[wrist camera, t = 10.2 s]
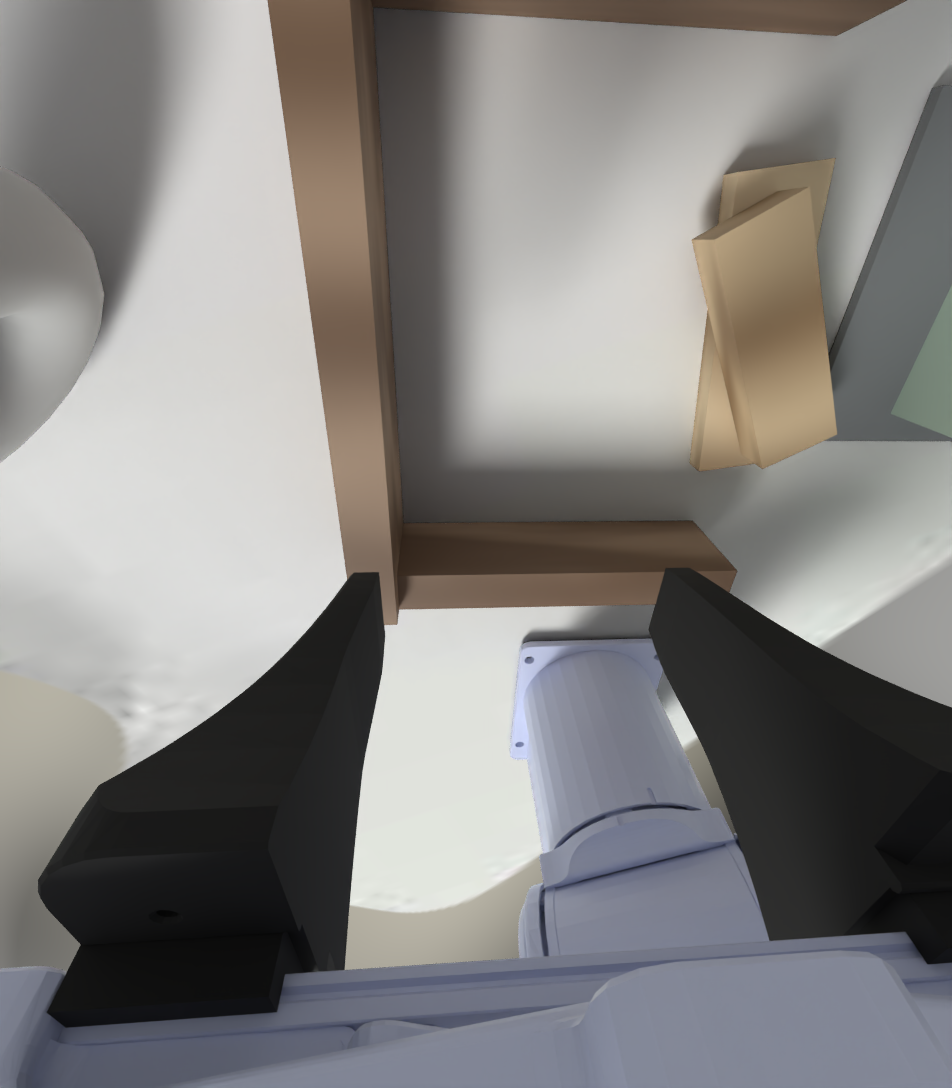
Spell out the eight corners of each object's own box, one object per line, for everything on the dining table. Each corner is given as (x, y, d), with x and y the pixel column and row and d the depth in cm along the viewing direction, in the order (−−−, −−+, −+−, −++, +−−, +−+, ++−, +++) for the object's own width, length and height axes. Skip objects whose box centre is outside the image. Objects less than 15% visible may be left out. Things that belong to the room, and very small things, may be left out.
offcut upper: (810, 421, 20) (837, 434, 18) (741, 454, 20) (762, 469, 19) (778, 190, 15) (809, 186, 14) (691, 239, 16) (714, 239, 15)
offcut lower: (751, 448, 22) (771, 461, 20) (683, 457, 22) (698, 471, 20) (804, 164, 16) (835, 157, 15) (714, 176, 16) (737, 172, 15)
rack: (683, 550, 24) (737, 619, 19) (369, 554, 23) (353, 627, 18) (860, -47, 13) (1056, -177, 9) (302, -88, 12) (232, -256, 8)
